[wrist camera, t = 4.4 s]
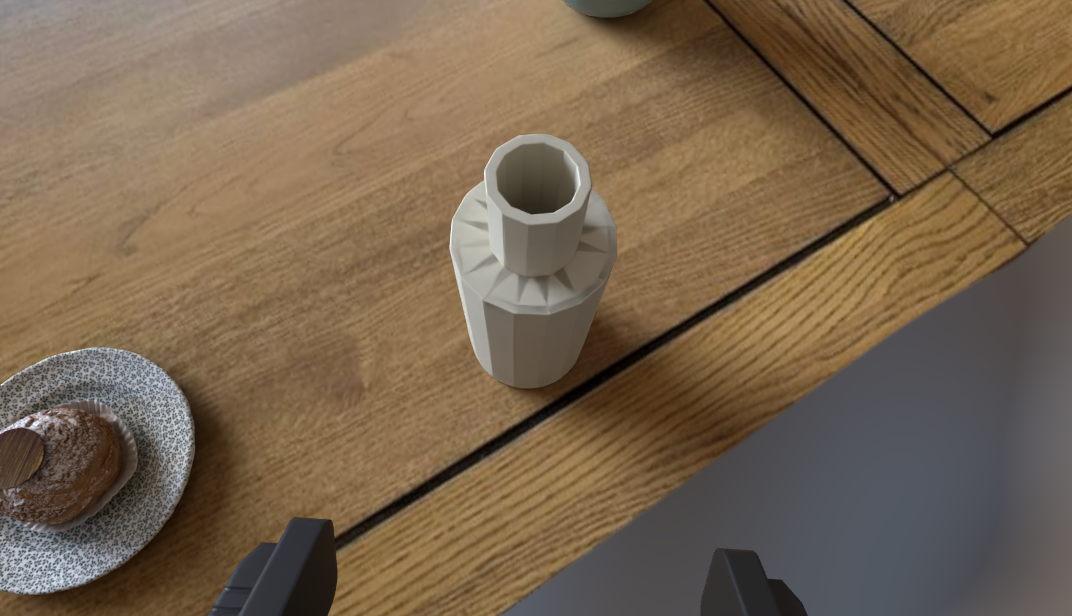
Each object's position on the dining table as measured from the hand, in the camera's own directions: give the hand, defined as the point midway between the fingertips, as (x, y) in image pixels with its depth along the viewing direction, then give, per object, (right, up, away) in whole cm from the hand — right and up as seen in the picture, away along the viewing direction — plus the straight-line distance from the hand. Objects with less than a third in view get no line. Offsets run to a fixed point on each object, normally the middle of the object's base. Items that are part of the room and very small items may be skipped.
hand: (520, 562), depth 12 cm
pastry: (-23, -3, +18) cm, 30 cm away
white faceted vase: (0, +4, +21) cm, 22 cm away
